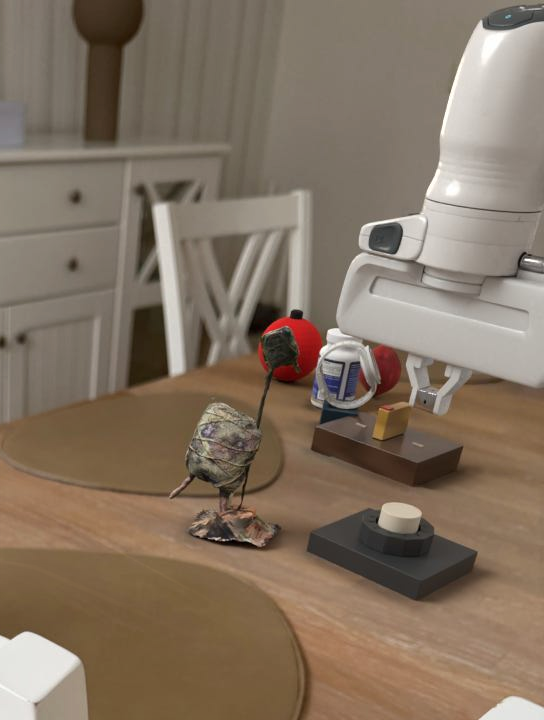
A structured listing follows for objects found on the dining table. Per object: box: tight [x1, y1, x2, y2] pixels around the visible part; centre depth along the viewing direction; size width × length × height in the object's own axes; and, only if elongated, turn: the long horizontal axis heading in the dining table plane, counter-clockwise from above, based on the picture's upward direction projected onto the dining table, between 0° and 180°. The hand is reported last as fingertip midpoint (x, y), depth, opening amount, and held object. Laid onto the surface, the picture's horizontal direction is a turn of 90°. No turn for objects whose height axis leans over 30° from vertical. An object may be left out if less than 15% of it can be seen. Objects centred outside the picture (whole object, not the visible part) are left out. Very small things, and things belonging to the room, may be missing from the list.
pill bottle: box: [310, 327, 364, 410], centre depth 132 cm, size 6×6×10 cm
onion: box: [358, 344, 403, 398], centre depth 137 cm, size 6×6×8 cm
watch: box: [315, 340, 381, 425], centre depth 123 cm, size 6×8×11 cm
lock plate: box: [310, 411, 464, 488], centre depth 117 cm, size 14×10×3 cm
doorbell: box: [306, 507, 479, 602], centre depth 92 cm, size 12×10×4 cm
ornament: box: [258, 308, 323, 382], centre depth 141 cm, size 9×9×10 cm
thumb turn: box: [372, 401, 413, 440], centre depth 115 cm, size 5×1×4 cm, turn 131°
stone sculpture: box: [168, 326, 301, 548], centre depth 92 cm, size 8×11×20 cm
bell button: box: [378, 501, 423, 534], centre depth 91 cm, size 4×4×2 cm
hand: (427, 410), depth 86 cm, fingers closed
